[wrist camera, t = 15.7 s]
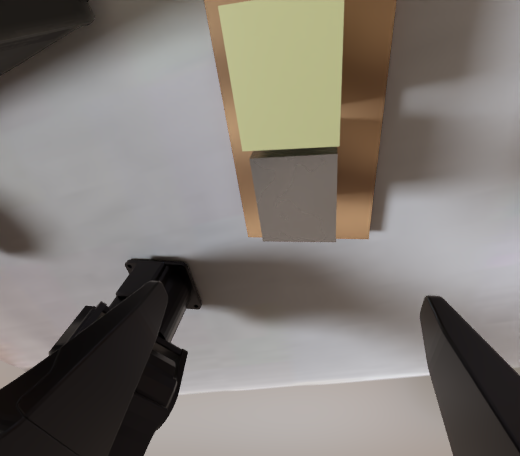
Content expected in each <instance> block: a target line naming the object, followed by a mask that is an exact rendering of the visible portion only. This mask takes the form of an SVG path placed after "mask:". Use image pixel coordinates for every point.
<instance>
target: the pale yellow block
mask: <svg viewBox="0 0 520 456" xmlns="http://www.w3.org/2000/svg"><path fill="white" fill-rule="evenodd" d="M218 10H219V16H220V21H221V27H222V33H223V39H224V45H225V51H226V57H227V63H228V69H229V75H230V81H231V87H232V93H233V98H234V104H235V110H236V116H237V122H238V128H239V134H240V140H241V146H242V151H260V150H280V149H299V148H318V147H338V146H340V116H341V86H342V56H343V26H344V0H251V1H245V2H239V3H233V4H227V5H221V6H218Z"/></svg>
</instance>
